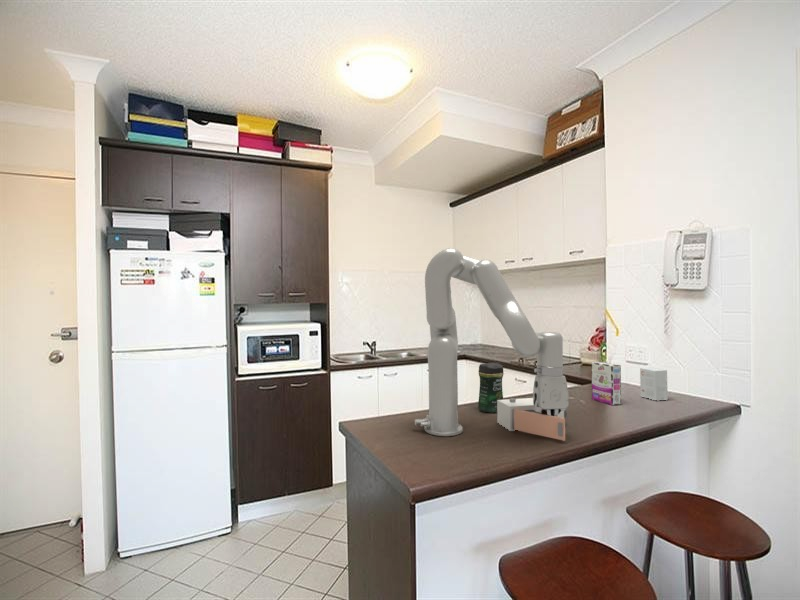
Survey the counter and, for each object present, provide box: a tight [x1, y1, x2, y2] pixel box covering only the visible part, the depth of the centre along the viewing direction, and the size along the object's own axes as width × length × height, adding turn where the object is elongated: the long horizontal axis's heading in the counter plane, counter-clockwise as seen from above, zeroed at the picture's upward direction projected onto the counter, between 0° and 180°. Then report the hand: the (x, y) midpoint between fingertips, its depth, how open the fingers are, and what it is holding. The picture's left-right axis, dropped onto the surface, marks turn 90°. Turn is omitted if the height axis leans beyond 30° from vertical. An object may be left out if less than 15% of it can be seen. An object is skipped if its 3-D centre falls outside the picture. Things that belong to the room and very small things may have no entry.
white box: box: [496, 397, 567, 432], centre depth 132 cm, size 22×9×9 cm, turn 102°
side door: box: [512, 409, 566, 442], centre depth 119 cm, size 16×2×6 cm, turn 49°
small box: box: [639, 367, 669, 401], centre depth 167 cm, size 8×6×13 cm
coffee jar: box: [477, 362, 505, 413], centre depth 150 cm, size 10×8×19 cm
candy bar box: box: [591, 361, 622, 406], centre depth 162 cm, size 11×5×16 cm, turn 17°
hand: (550, 429), depth 120 cm, fingers closed
